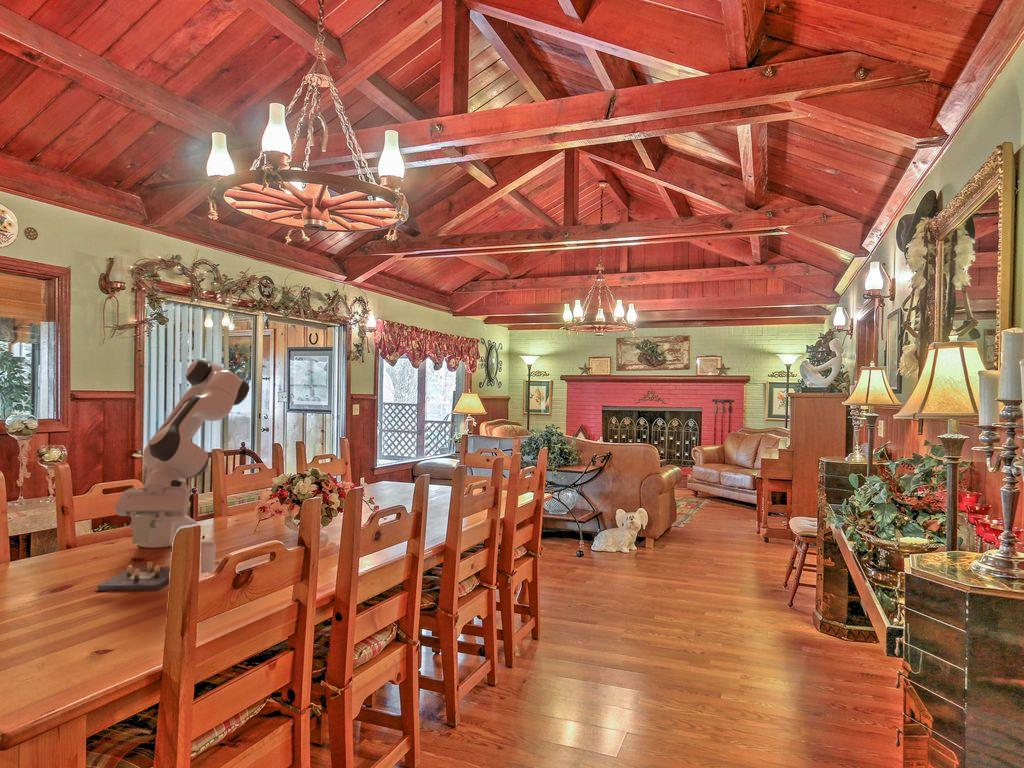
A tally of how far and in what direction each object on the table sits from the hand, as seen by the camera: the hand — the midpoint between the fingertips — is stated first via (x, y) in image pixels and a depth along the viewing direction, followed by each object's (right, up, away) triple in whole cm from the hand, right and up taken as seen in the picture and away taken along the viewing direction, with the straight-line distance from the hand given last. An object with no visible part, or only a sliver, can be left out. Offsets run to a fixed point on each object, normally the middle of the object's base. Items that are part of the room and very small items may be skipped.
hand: (143, 526), depth 186 cm
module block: (0, -5, +1) cm, 5 cm away
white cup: (+14, -17, +5) cm, 23 cm away
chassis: (0, -16, +1) cm, 16 cm away
